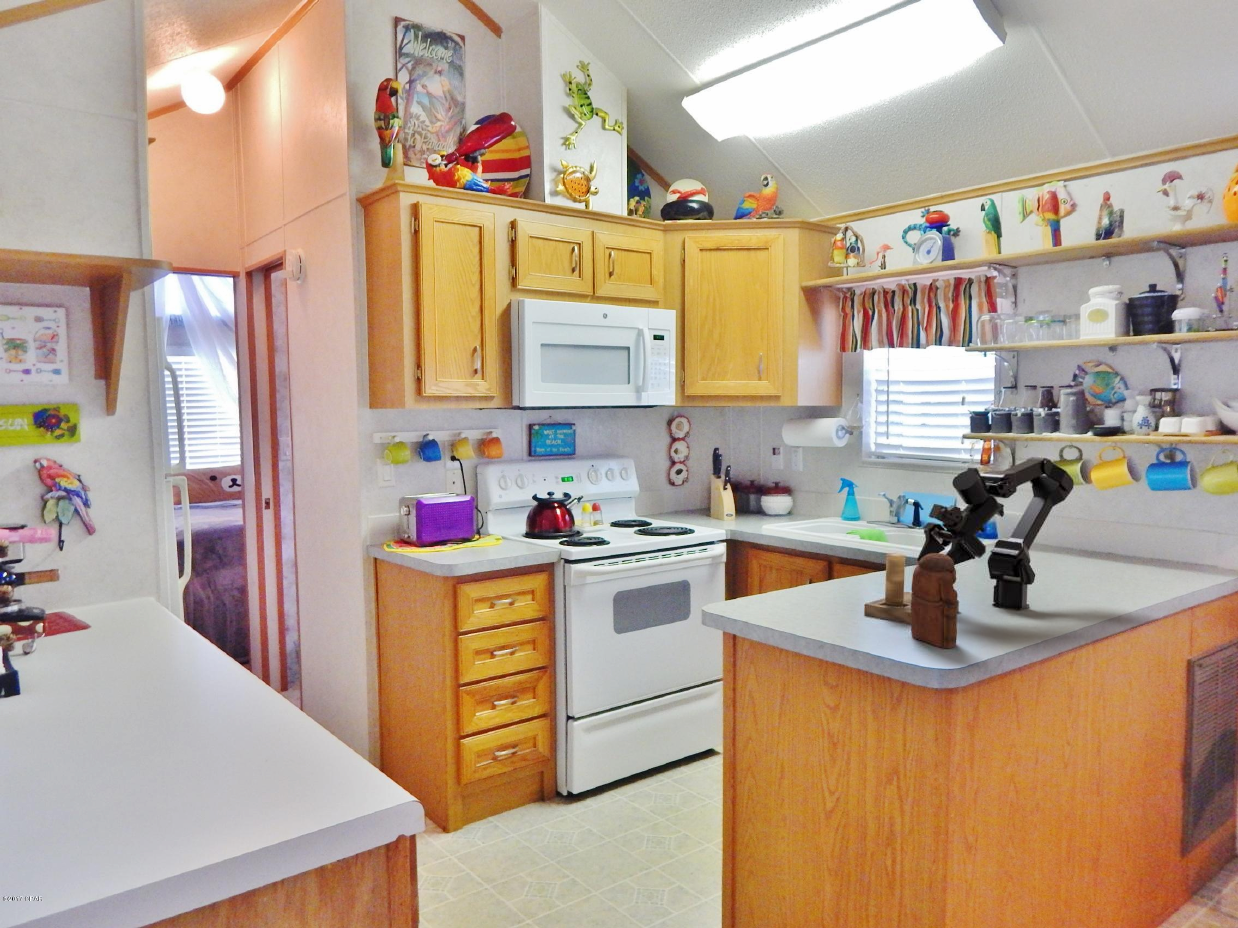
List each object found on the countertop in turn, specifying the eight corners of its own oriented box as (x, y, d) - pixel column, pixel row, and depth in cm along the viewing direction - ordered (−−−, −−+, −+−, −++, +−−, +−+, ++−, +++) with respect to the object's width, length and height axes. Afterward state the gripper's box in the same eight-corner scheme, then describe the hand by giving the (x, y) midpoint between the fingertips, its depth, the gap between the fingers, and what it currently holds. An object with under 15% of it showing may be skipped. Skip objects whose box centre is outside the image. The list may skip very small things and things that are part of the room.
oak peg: (906, 615, 197) (908, 554, 196) (897, 618, 194) (899, 556, 193) (890, 612, 200) (892, 552, 199) (881, 615, 197) (883, 554, 196)
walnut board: (958, 610, 202) (958, 600, 202) (918, 625, 188) (918, 613, 188) (906, 601, 211) (906, 591, 211) (864, 614, 197) (864, 603, 197)
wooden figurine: (968, 647, 171) (971, 557, 170) (942, 650, 168) (945, 558, 167) (926, 632, 182) (929, 548, 181) (902, 635, 179) (905, 549, 178)
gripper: (931, 488, 206) (886, 534, 205) (974, 496, 188) (925, 547, 187) (961, 520, 208) (917, 567, 207) (1007, 531, 189) (958, 582, 189)
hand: (928, 565), depth 197 cm, fingers open, 9 cm apart
